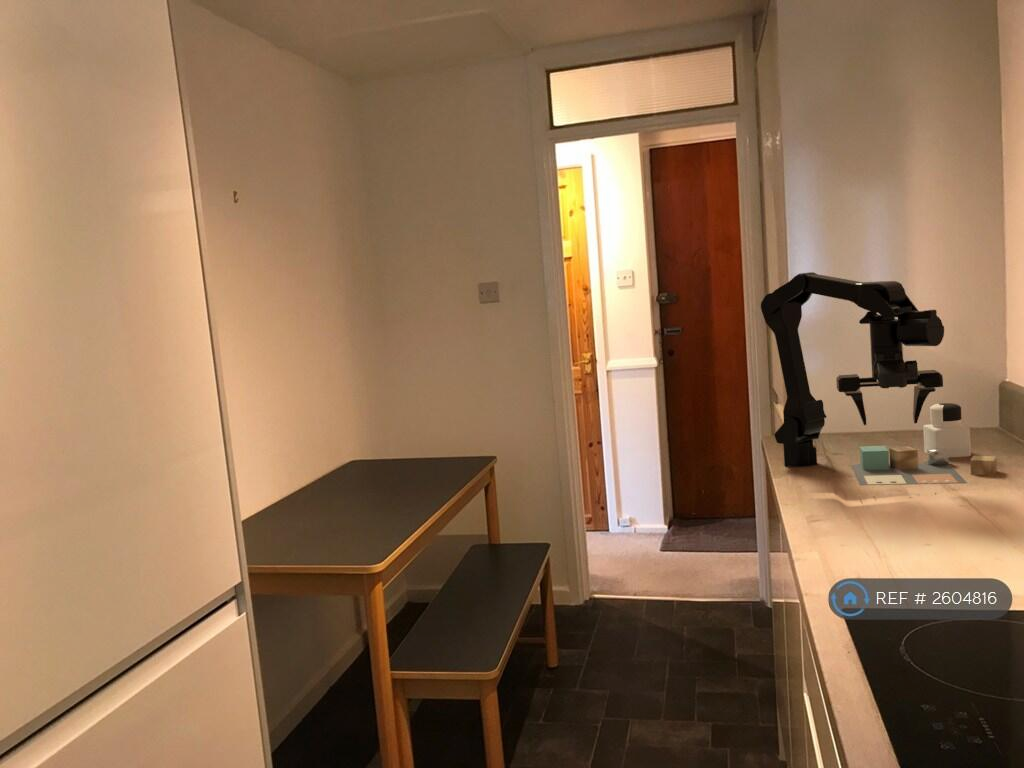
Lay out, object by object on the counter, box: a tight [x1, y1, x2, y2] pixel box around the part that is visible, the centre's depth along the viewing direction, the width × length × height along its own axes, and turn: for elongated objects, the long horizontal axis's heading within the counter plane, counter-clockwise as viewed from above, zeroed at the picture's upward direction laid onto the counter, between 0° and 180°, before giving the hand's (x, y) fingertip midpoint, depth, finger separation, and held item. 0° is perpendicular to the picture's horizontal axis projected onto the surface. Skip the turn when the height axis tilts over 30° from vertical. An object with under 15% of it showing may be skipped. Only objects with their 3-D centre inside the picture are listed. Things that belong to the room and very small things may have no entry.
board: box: [850, 461, 968, 486], centre depth 170 cm, size 19×18×1 cm
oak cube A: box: [888, 445, 919, 471], centre depth 174 cm, size 4×4×4 cm
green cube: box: [859, 445, 890, 470], centre depth 177 cm, size 5×5×4 cm
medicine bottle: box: [922, 402, 972, 459], centre depth 183 cm, size 7×7×12 cm
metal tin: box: [926, 448, 950, 466], centre depth 175 cm, size 4×4×3 cm
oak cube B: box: [970, 455, 998, 477], centre depth 165 cm, size 4×4×4 cm
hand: (889, 424), depth 166 cm, fingers open, 9 cm apart
